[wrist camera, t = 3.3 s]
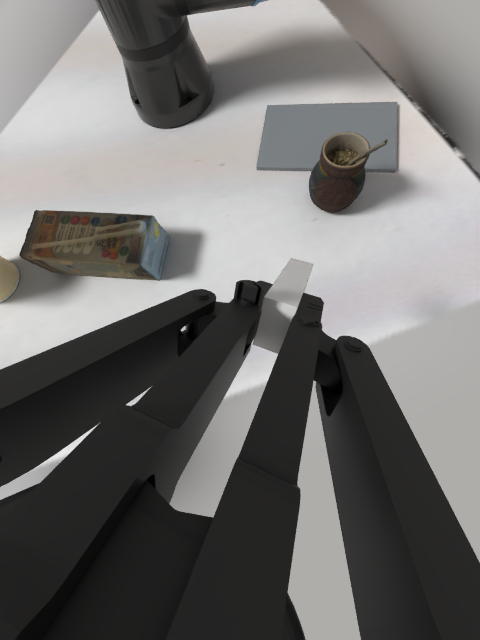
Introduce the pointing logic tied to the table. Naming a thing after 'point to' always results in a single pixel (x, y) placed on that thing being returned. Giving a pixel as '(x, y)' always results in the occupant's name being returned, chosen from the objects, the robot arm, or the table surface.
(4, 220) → the table surface
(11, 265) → the coffee cup
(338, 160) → the mate gourd
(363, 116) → the mat
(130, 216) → the beverage carton
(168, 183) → the table surface
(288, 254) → the table surface
